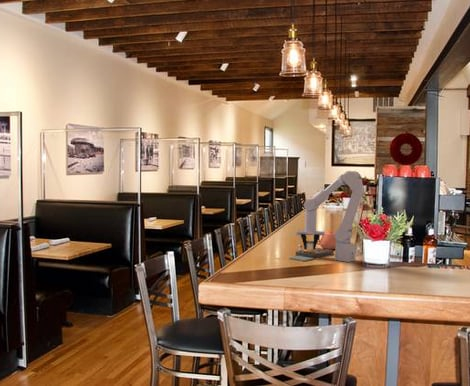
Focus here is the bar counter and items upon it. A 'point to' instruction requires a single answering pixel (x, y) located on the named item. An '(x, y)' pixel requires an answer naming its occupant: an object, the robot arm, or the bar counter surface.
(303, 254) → the grey lever panel
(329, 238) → the sugar bowl
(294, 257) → the mat
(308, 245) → the plug
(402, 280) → the bar counter surface
